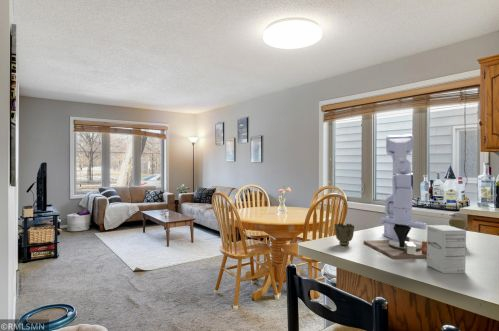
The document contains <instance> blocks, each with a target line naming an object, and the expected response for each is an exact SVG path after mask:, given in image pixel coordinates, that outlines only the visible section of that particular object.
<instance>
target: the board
mask: <svg viewBox="0 0 499 331" xmlns="http://www.w3.org/2000/svg"><path fill="white" fill-rule="evenodd" d="M409 237H410V236H407V237H406V240H405V241H406V242H409V240H410V241H415V242H418V243H420V244H422V249H420V250H416V255H414V254H407V253H406V252H405V250H404V249H398V248H394V247H392V246H390V245H389V241H390V240H391V239H378V240H377V239H375V240H374V239H373V240H370V239H369V240H363V244H364V245H366V246H368V247H370V248H372V249H374V250H376V251H378V252H380V253H382V254H383V255H385V256H388V258H391V259H393V260H395V259H397V260H398V259H399V260H400V259H422V258H423V259H424V258H426V259H427V240H422V241H421V240H418V239H415V238H412V239H409Z"/></svg>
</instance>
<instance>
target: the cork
mask: <svg viewBox="0 0 499 331" xmlns="http://www.w3.org/2000/svg"><path fill="white" fill-rule="evenodd" d="M448 226H452V227H455V228H459V229H462V230H465V226H466V221H465V219H463V218H460V217H451V218H449V220H448Z"/></svg>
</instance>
